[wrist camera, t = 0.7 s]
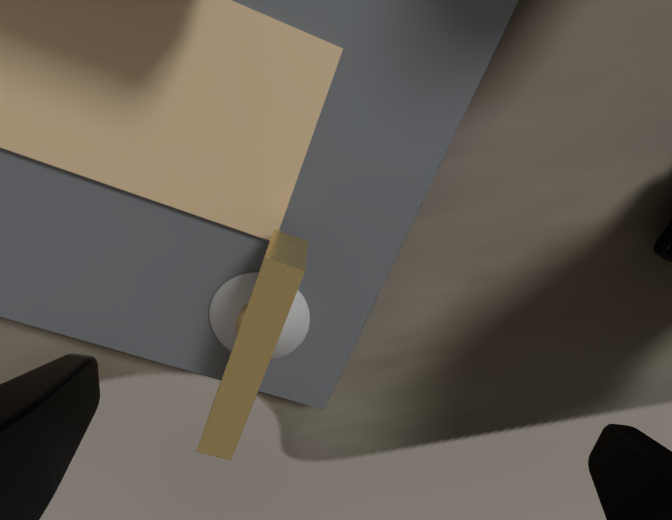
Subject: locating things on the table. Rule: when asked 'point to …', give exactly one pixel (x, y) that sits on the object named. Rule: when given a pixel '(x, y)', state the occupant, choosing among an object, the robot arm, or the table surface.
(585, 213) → the table surface
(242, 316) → the yellow rectangular block
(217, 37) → the panel
